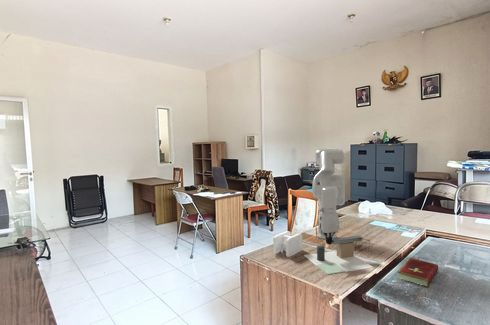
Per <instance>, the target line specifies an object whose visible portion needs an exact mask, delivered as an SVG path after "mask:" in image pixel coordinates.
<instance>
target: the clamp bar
mask: <svg viewBox="0 0 490 325" xmlns="http://www.w3.org/2000/svg"><path fill="white" fill-rule="evenodd" d="M362 241H363V236H361V235H352V236H351V235H350V236H346V237H343V236H342V237H336V238H335V239H332V244H331V245H337V244H341V243H349V242H353V243H354V242H362Z"/></svg>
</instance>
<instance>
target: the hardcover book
mask: <svg viewBox="0 0 490 325" xmlns="http://www.w3.org/2000/svg"><path fill="white" fill-rule="evenodd" d="M437 271H438V272H439V265H438V264H437V263H434V262H429V261H425V260H422V259H417V258H413V257H410V258H409V259H407V261H406V262H405V263H404V264H403V265H402V266H401V267H400V269H399V270H397V273H398V279H399V278H401V279H404V280H403V281H405V280H408V281H412V282H416V283H419V284H422V285H425V286H427V287H428V288H429V286H430V285H431V283H432V282H431V281H433V280H434V278H435V277H434V276H436V275H437V273H438V272H437ZM401 279H400V280H401ZM432 279H433V280H432ZM408 281H407V282H408ZM429 284H430V285H429ZM427 287H426V288H427Z"/></svg>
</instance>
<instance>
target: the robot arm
mask: <svg viewBox="0 0 490 325" xmlns="http://www.w3.org/2000/svg"><path fill="white" fill-rule="evenodd" d="M314 156H315V159H316V160H315V161H316V162H317V165H318V168H319V171H318V172H317V173H316V174H315V175H314V177H313V179H312V186H311V188H312V189H311V191H312V192H311V193H312V196H313V197H314V198H315V199H317V202H318V216H319V217H318V220H319V222H318V228H317V230H318V232H317V233H316V237H317V238H319V239H323V240H325V243H326V244H327V245H329V246H330V245H333V244H332V239H335V238H337V233H338V232H339V231H340V227H341V226H340V218H339V213H338V212H337V206H344V205H345V202H346V194H345V193H346V191H345V190H346V187H345V186H346V184H345V183H346V182H345V178H344V176H343V175H340V174H335V173H336V168H335V165H342V164H344V163H345V159H346V157H345V153H344V150H343V149H340V148H333V149H331V148H330V149H329V148H328V149H327V148H326V149H325V148H324V149H318V150H316V151H315V154H314ZM318 183H319V184H318Z"/></svg>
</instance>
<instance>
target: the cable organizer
mask: <svg viewBox="0 0 490 325" xmlns="http://www.w3.org/2000/svg"><path fill="white" fill-rule="evenodd" d="M272 241H273V244H272V245H273V254H275V255H276V254H280V253H281V254H283V252H285V256H286V257H288V258H290V257H292V256H294V255H296V254H298V253H300V252H301V251H303V250H304V249H303V234H302V233H297V234H294V235H292V231H289V230H285V231H283V232H280V233H277V234H276V235H274V236H273V240H272Z"/></svg>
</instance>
